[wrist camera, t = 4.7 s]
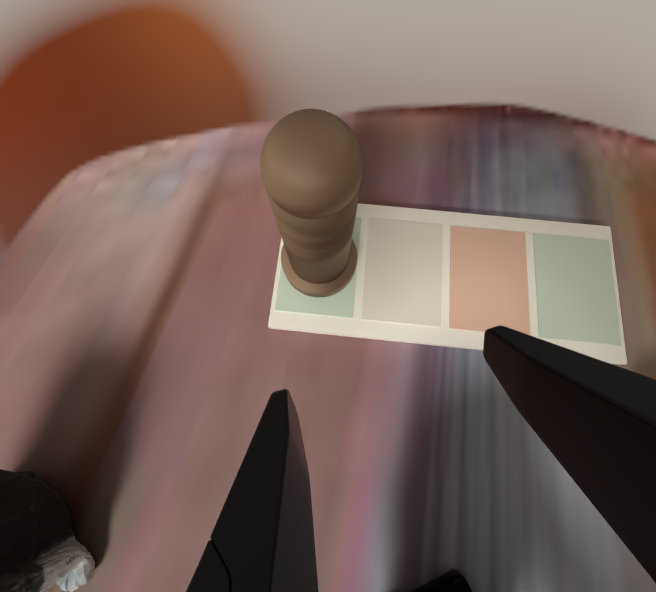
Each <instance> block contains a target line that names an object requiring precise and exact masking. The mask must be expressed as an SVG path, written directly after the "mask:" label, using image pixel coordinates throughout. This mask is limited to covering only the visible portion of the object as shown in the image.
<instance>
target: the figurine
mask: <svg viewBox="0 0 656 592" xmlns="http://www.w3.org/2000/svg"><path fill="white" fill-rule="evenodd" d="M94 569H95V562H94V560H93V558H92V556H91V554H90V552H88V551H87V549H86V547H85V546H83V545H81V544H80V543H79V542H78V541H76V539H75V536H74V533H73V530H72V527H71V516H70V514H69V511H68V509H67V507H66V503H65V501H64V499H63V497H62V496H60V494H59V493H57V492H56V491H55V490H53V489H52V488H50V487H49V486H48V485H47V484H46V483H45V482H43V481H41V480H39V479H38V478H37V477H36V476H35V473H34V472H31V471H29V472H16V473H15V472H11V471H5V470H0V592H46V591H47V590H49V589H50V588H51V587H53V586H54V585H55V584H56V585H57V586H58V587H60V589H61V590H62V591H70V592H73V591H74V590H76V589H78V588H80V587H81V586H83V585H84V584H86V583H87V582H88V581H89V580H90V579H91V578H92V576H93V574H94Z"/></svg>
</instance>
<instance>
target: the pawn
mask: <svg viewBox="0 0 656 592" xmlns="http://www.w3.org/2000/svg"><path fill="white" fill-rule="evenodd" d="M260 168H261V175H262V180H263V183H264V186H265V189H266V192H267V195H268V198H269V201H270V204H271V207H272V210H273V213H274V216H275V219H276V222H277V225H278V228H279V231H280V234H281V237H282V240H283V243H284V244H283V247H282V251H281V264H282V268H283V271H284V273H285V275H286V277H287V279H288V281H289V282H290V284H291V285H292V286H293V287H294V288H295V289H296V290H298V291H299V292H301V293H303V294H305V295H308V296H311V297H327V296H331V295H334V294H336V293H338V292H340V291H341V290H343V289H344V288H345V287H346V286H347V285H348V284H349V282H350V281H351V279H352V277H353V275H354V272H355V269H356V264H357V249H356V246H355V243H354V241H353V239H352V235H353V229H354V223H355V217H356V211H357V205H358V199H359V193H360V187H361V180H362V175H363V156H362V151H361V148H360V145H359V142H358V140H357V138H356V136H355V135H354V133H353V131H352V130H351V129H350V127H349V126H348V125H347V124H346V123H345V122H343V121H342V120H341V119H340V118H338V117H337V116H335V115H333V114H331V113H329V112H326V111H322V110H318V109H304V110H299V111H295V112H293V113H291V114H289V115H287V116H285V117H283V118H282V119H281V120H279V121H278V122H277V123H276V124H275V126H274V127H273V128H272V129H271V130H270V132H269V134H268V135H267V137H266V139H265V142H264V144H263V147H262V152H261V158H260Z"/></svg>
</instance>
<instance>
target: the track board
mask: <svg viewBox="0 0 656 592" xmlns="http://www.w3.org/2000/svg"><path fill="white" fill-rule="evenodd" d="M352 239H353V241H354V243H355V246H356V249H357V264H356V269H355V272H354V275H353V277H352V279H351V281H350V282H349V284H348V285H347V286H346V287H345V288H344V289H343V290H341V291H340V292H338V293H336V294H334V295H331V296H327V297H311V296H308V295H305V294H303V293H301V292H299V291H298V290H296V289H295V288H294V287H293V286H292V285H291V284H290V282H289V281H288V279H287V277H286V275H285V273H284V271H283V268H282V264H281V251H282V247H283V244H284V243H283V240H282V238H281V244H280V251H279V257H278V264H277V271H276V277H275V284H274V290H273V297H272V304H271V310H270V317H269V323H268V328H271V329H280V330H290V331H300V332H309V333H319V334H329V335H338V336H348V337H357V338H367V339H377V340H386V341H396V342H405V343H415V344H425V345H434V346H444V347H454V348H463V349H473V350H482V351H483V346H484V333H485V331H486V330H487V329H489V328H492V327H495V326H500V325H501V326H505V327H508V328H511V329H514V330H517V331H519V332H522V333H525V334H528V335H531V336H533V337H536V338H539V339H542V340H545V341H548V342H550V343H553V344H556V345H559V346H562V347H564V348H567V349H570V350H573V351H576V352H579V353H581V354H584V355H587V356H590V357H593V358H595V359H598V360H601V361H604V362H607V363H610V364H617V365H625V364H627V359H626V351H625V342H624V334H623V326H622V318H621V310H620V302H619V293H618V285H617V277H616V269H615V261H614V253H613V244H612V236H611V228H610V226H600V225H589V224H578V223H567V222H556V221H545V220H534V219H523V218H512V217H501V216H490V215H480V214H469V213H458V212H447V211H436V210H425V209H414V208H403V207H392V206H381V205H370V204H360V203H358V205H357V211H356V217H355V223H354V229H353V235H352Z"/></svg>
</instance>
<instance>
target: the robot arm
mask: <svg viewBox="0 0 656 592" xmlns="http://www.w3.org/2000/svg"><path fill="white" fill-rule="evenodd" d="M483 354H484V358H485V360H486V362H487V363H488V365H489V366H490V368H491V370H492V371H493V373H494V374H495V376H496V377H497V379H498V380H499V382H500V383H501V385H502V387H503V388H504V390H505V391H506V393H507V394H508V396H509V397H510V399H511V401H512V402H513V404H514V405H515V406H516V408H517V409H518V411H519V412H520V413H521V415H522V416H523V417H524V419H525V420H526V421H527V422H528V424H529V425H530V426H531V427H532V429H533V430H534V431H535V432H536V434H537V435H538V436H539V437H540V439H541V440H542V441H543V442H544V444H545V445H546V446H547V447H548V449H549V450H550V451H551V452H552V454H553V455H554V456H555V457H556V459H557V460H558V461H559V462H560V464H561V465H562V466H563V467H564V469H565V470H566V471H567V472H568V474H569V475H570V476H571V477H572V479H573V480H574V481H575V482H576V484H577V485H578V486H579V487H580V489H581V490H582V491H583V492H584V494H585V495H586V496H587V497H588V499H589V500H590V501H591V502H592V504H593V505H594V506H595V507H596V509H597V510H598V511H599V513H600V514H601V515H602V516H603V518H604V519H605V520H606V521H607V523H608V524H609V525H610V526H611V528H612V529H613V530H614V531H615V533H616V534H617V535H618V536H619V538H620V539H621V540H622V541H623V543H624V544H625V545H626V546H627V548H628V549H629V550H630V551H631V553H632V554H633V555H634V556H635V558H636V559H637V560H638V561H639V563H640V564H641V565H642V566H643V568H644V569H645V570H646V571H647V573H648V574H649V575H650V576H651V578H652V579H653V580H654V581H655V583H656V380H655V379H652V378H649V377H646V376H643V375H641V374H638V373H635V372H632V371H629V370H626V369H624V368H621V367H618V366H615V365H612V364H610V363H607V362H604V361H601V360H598V359H595V358H593V357H590V356H587V355H584V354H581V353H579V352H576V351H573V350H570V349H567V348H564V347H562V346H559V345H556V344H553V343H550V342H548V341H545V340H542V339H539V338H536V337H533V336H531V335H528V334H525V333H522V332H519V331H517V330H514V329H511V328H508V327H505V326H501V325H500V326H495V327H492V328H489V329H487V330H486V331H485V333H484V346H483ZM458 578H459V579H460V583H459V584H458V585H455V584H454V581H455V580H456V579H458ZM186 592H318V581H317V568H316V555H315V542H314V529H313V516H312V503H311V490H310V480H309V472H308V466H307V460H306V455H305V450H304V445H303V440H302V434H301V429H300V424H299V419H298V414H297V411H296V408H295V405H294V403H293V400H292V398H291V395H290V392H289V390H288V389H283V390H279V391H276V392H273V393H272V394H271V396H270V398H269V401H268V403H267V405H266V408H265V410H264V412H263V415H262V417H261V420H260V422H259V424H258V427H257V429H256V431H255V434H254V436H253V438H252V441H251V443H250V445H249V448H248V450H247V452H246V455H245V457H244V459H243V462H242V464H241V466H240V469H239V471H238V473H237V476H236V478H235V480H234V483H233V485H232V487H231V490H230V492H229V494H228V497H227V499H226V502H225V504H224V506H223V509H222V511H221V513H220V516H219V518H218V520H217V523H216V525H215V527H214V530H213V532H212V534H211V540H210V541H208V543H207V545H206V548H205V550H204V553H203V555H202V557H201V560H200V562H199V564H198V567H197V569H196V571H195V573H194V575H193V578H192V580H191V582H190V584H189V586H188V589H187V591H186ZM413 592H472V591H471V589H470V587H469V584H468V582H467V580H466V578H465V577H464V575H463V574H462V573H461V572H460V571H459V570H456V569H454V570H451V571H449V572H447V573H446V574H444V575H442V576H440V577H438V578H436V579H435V580H433V581H431V582H429V583H427V584H426V585H424V586H422V587H420V588H418V589H416V590H415V591H413Z"/></svg>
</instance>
